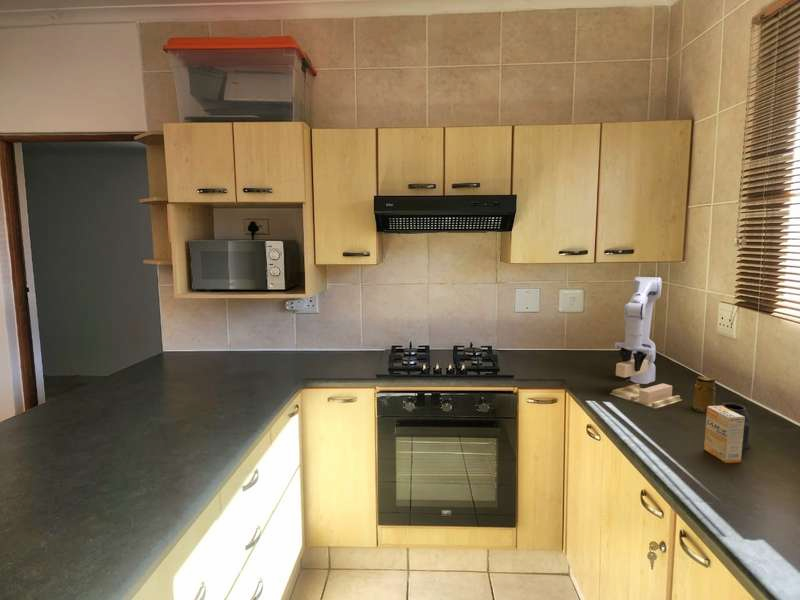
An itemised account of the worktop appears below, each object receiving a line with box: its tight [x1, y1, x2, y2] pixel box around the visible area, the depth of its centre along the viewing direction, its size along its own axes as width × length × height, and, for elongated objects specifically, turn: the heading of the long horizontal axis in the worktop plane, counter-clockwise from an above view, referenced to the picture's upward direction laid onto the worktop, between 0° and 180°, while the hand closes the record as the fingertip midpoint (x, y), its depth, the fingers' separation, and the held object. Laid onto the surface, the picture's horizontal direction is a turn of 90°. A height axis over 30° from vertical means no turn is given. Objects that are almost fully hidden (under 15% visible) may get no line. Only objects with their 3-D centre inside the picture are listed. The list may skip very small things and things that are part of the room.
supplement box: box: [703, 405, 745, 464], centre depth 129 cm, size 8×5×13 cm, turn 5°
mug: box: [721, 402, 751, 451], centre depth 135 cm, size 12×9×11 cm
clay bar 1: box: [615, 359, 648, 379], centre depth 179 cm, size 14×4×4 cm, turn 120°
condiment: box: [692, 375, 716, 414], centre depth 160 cm, size 7×8×12 cm
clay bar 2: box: [639, 383, 673, 405], centre depth 172 cm, size 14×4×4 cm, turn 119°
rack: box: [609, 383, 682, 409], centre depth 175 cm, size 16×18×2 cm
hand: (632, 369), depth 179 cm, fingers closed on clay bar 1, 4 cm apart
